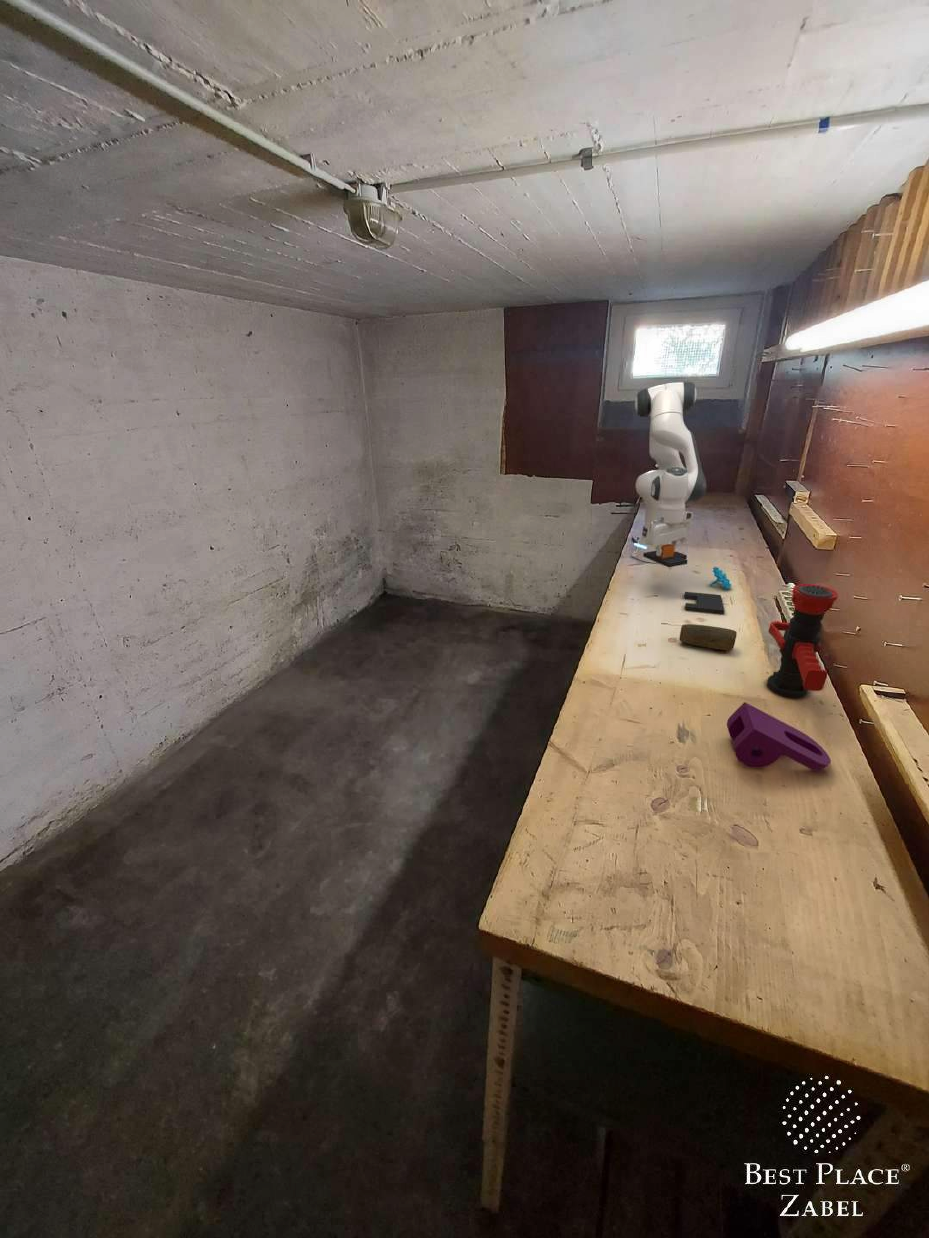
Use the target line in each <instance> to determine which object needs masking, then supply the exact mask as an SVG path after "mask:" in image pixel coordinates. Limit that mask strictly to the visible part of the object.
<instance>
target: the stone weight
mask: <svg viewBox="0 0 929 1238" xmlns="http://www.w3.org/2000/svg"><path fill="white" fill-rule="evenodd" d="M737 635H738V633H737V631H736V630H734V629H730V628H726V627H719V626H713V625H704V624H695V623H685V624H682V625H681V627H680V632H679V637H678V640H679V641H680V642H683V643H685V644H688V645H692V646H696V647H700V648H701V647H703V648H708V649H713V650H719V651H721V650H722V651H732V650H733V649H734V647H735V644H736V640H737Z"/></svg>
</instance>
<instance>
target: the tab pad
mask: <svg viewBox="0 0 929 1238" xmlns="http://www.w3.org/2000/svg"><path fill="white" fill-rule="evenodd" d="M674 548H675V549H676V547H675V546H673V545H671V544H666V545H662V547H661V550H662V551H663V555H661V556H658V555H656V551H651V552H645V553H644V554H643V557H645V558H648V559H650V560H652V561H655V562H657V563H656V564H659V565H661V566H664V567H667V568H674V567H678V566H683V565H688V559H687V558H688V555H687V554H685V553H682V552H679V551H674Z"/></svg>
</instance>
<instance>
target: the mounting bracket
mask: <svg viewBox="0 0 929 1238" xmlns="http://www.w3.org/2000/svg"><path fill="white" fill-rule="evenodd" d="M726 727H727V731H728V734H729V737H730V738H731V740H732V741H733V742H732V748H733V752H734V755H735V757H736V759H737V760H738V762H739V763H741V765H744V766H746V767H749V768H756V769H762V768H766V767H769V766H771V765H773V764H774V763H775V762H776V761H778V760H779V759H780V758H781V757H787V758H788V759H791V760H793V761H795V762H797V763H798V764H800V765H802V766H804V767H806V768H808V769H810V770H812V771H815V772H822V771H823V770H825V769H826V768H828V766H830V765H831V763H832V761H831V757H830V756H829V754H828V753H827V752H826V750H825V749H824V748H823V746H821V745H820V744H819V743H818V742H817V741H816V740H814V739H813V738H812V737H810V736H809V735H808V734H806V733H804V732H803V731H801V730H799V729H797V728H795V727H794V726H791V725H789V724H787V723H785V721H782V720H780V719H778V718H776V717H774V716H772V715H771V714H768V713H766V712H765V711H763V710H761V709H759V708H757V707H755V706H753V705H751V704H750V703H747V702H746V701H744V702H743V703H742V704H741V705H740V706H739V707H738V708H737V709H736V710H735V711H734V712H733V713H732V714H731V715H730V716H729V717H728V719H727V721H726Z"/></svg>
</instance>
